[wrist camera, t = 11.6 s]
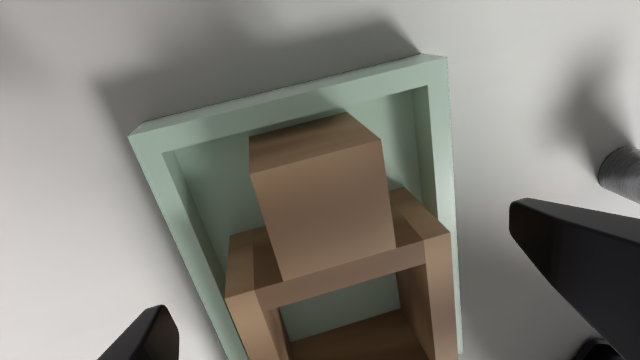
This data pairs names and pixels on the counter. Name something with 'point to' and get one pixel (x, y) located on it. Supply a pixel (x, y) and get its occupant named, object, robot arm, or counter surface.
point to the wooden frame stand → (338, 248)
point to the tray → (239, 195)
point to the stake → (622, 173)
